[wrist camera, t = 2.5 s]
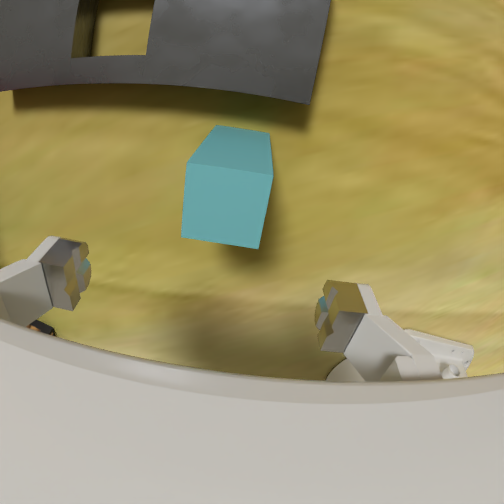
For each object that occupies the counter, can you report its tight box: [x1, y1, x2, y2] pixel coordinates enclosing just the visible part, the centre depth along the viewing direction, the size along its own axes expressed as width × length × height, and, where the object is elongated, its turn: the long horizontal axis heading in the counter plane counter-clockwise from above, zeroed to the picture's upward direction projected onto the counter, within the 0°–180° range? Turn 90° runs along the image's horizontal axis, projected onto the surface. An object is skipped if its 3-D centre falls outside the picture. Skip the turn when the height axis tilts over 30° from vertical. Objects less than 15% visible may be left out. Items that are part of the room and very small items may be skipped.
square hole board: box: [0, 0, 331, 105], centre depth 17 cm, size 26×10×3 cm, turn 81°
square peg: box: [181, 125, 273, 249], centre depth 20 cm, size 4×4×10 cm
